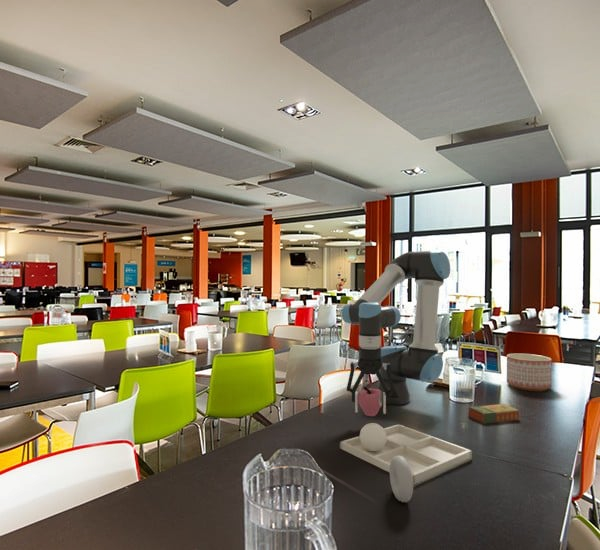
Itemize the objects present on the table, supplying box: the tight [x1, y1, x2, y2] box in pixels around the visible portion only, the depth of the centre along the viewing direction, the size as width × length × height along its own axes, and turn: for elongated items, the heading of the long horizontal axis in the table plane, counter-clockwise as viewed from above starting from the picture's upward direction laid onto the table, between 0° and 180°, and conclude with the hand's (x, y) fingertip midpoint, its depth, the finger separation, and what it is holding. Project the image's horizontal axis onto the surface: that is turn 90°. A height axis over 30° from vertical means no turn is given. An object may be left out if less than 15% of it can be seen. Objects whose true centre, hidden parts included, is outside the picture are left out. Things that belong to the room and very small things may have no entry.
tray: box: [339, 423, 473, 486], centre depth 124 cm, size 27×27×2 cm
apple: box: [357, 386, 383, 417], centre depth 145 cm, size 10×9×10 cm
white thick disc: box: [389, 455, 414, 503], centre depth 99 cm, size 10×4×10 cm, turn 5°
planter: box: [506, 353, 553, 392], centre depth 205 cm, size 19×19×15 cm
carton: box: [467, 403, 520, 425], centre depth 158 cm, size 8×16×4 cm, turn 106°
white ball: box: [359, 422, 387, 452], centre depth 125 cm, size 8×8×8 cm
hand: (370, 411), depth 146 cm, fingers closed on apple, 9 cm apart
